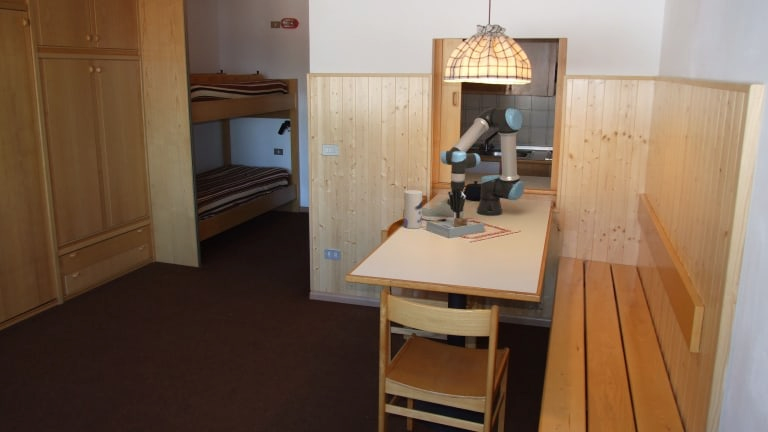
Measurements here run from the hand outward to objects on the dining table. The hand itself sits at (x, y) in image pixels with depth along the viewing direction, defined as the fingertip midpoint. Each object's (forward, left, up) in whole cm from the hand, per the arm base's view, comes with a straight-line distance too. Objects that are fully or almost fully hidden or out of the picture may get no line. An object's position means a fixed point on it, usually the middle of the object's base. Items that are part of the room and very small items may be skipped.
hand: (456, 223), depth 358 cm
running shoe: (-9, -25, -5) cm, 27 cm away
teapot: (-65, -58, -5) cm, 87 cm away
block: (-1, +3, -2) cm, 4 cm away
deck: (-1, -2, -5) cm, 5 cm away
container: (+13, -22, -5) cm, 26 cm away
